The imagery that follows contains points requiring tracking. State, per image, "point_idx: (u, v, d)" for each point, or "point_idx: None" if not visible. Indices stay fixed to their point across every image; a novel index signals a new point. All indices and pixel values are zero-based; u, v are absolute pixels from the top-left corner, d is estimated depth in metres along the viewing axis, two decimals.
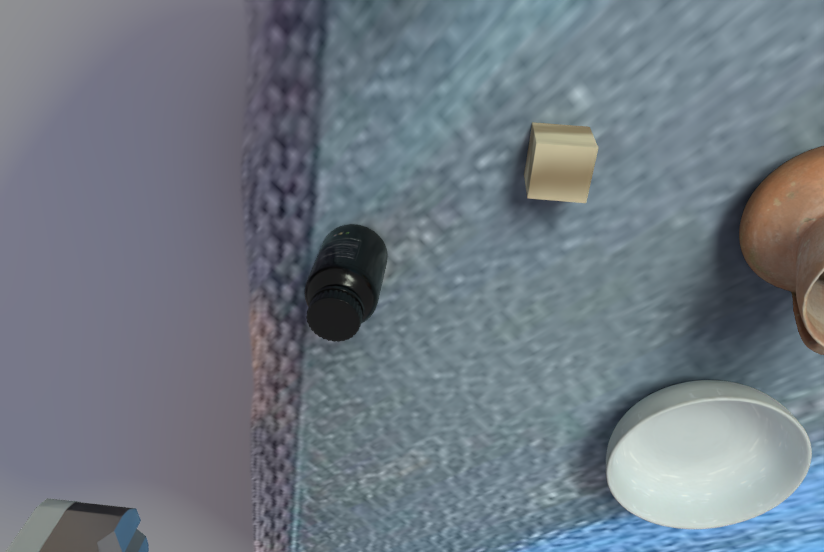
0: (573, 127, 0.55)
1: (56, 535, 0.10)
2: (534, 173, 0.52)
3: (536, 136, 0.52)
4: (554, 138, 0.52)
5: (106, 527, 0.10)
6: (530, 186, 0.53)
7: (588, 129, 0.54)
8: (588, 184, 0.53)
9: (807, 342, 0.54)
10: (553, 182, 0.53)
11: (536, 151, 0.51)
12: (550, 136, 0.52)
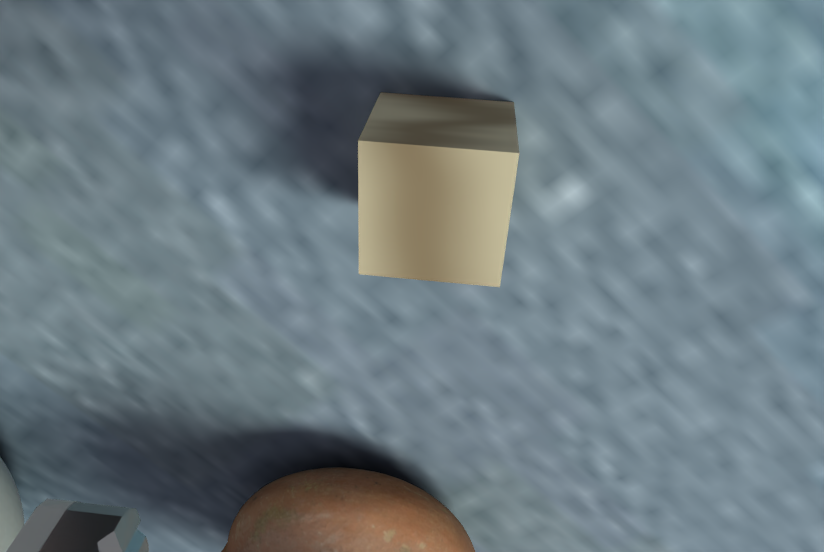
0: None
1: (56, 535, 0.10)
2: (431, 152, 0.19)
3: None
4: None
5: (106, 527, 0.10)
6: (393, 145, 0.19)
7: None
8: (407, 275, 0.22)
9: None
10: (409, 200, 0.20)
11: (495, 154, 0.19)
12: None
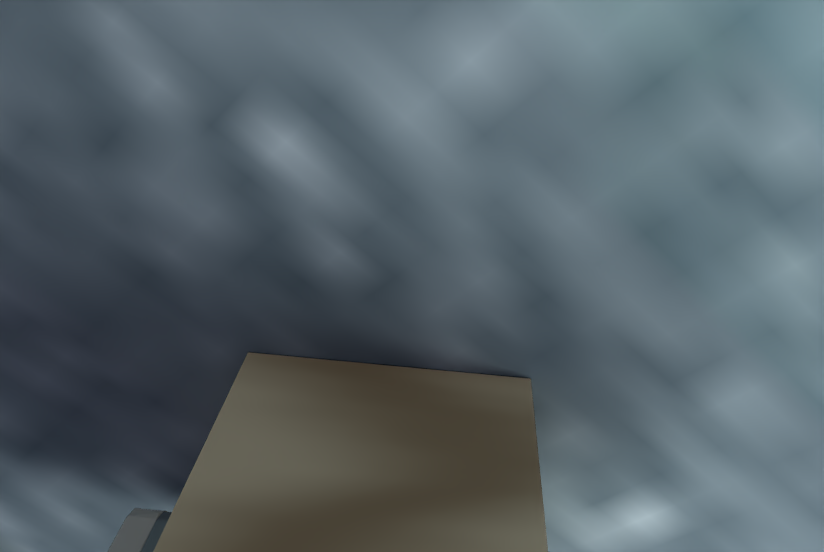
0: None
1: (150, 545, 0.10)
2: None
3: None
4: None
5: None
6: None
7: None
8: None
9: None
10: None
11: None
12: None
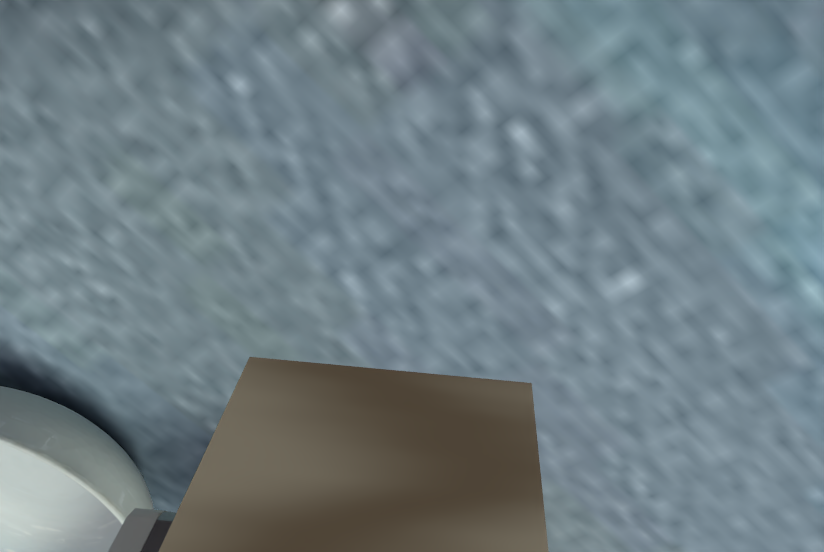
0: None
1: (150, 546, 0.10)
2: None
3: None
4: None
5: None
6: None
7: None
8: None
9: None
10: None
11: None
12: None
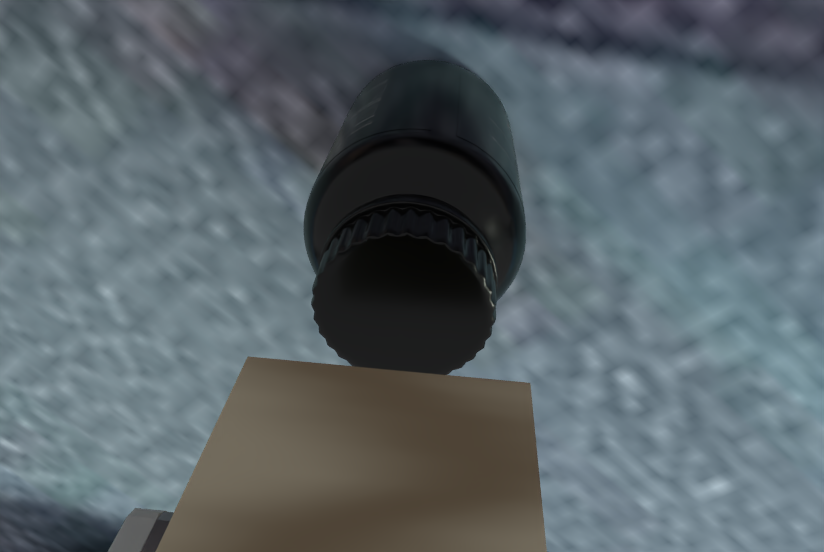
0: None
1: (150, 546, 0.10)
2: None
3: None
4: None
5: None
6: None
7: None
8: None
9: None
10: None
11: None
12: None
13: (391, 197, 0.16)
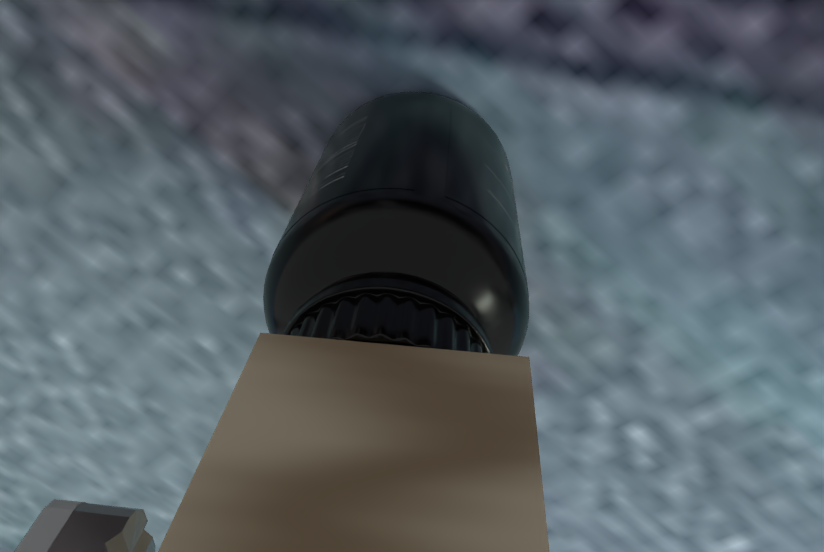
0: None
1: (64, 536, 0.10)
2: None
3: (544, 526, 0.09)
4: None
5: (114, 528, 0.10)
6: None
7: None
8: None
9: None
10: None
11: None
12: None
13: (363, 280, 0.13)
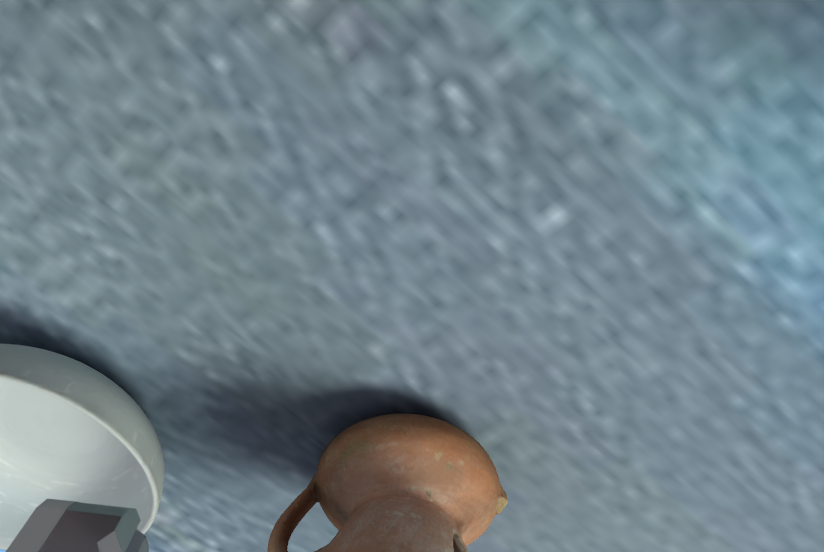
0: None
1: (56, 535, 0.10)
2: None
3: None
4: None
5: (106, 527, 0.10)
6: None
7: None
8: None
9: (277, 541, 0.44)
10: None
11: None
12: None
13: None
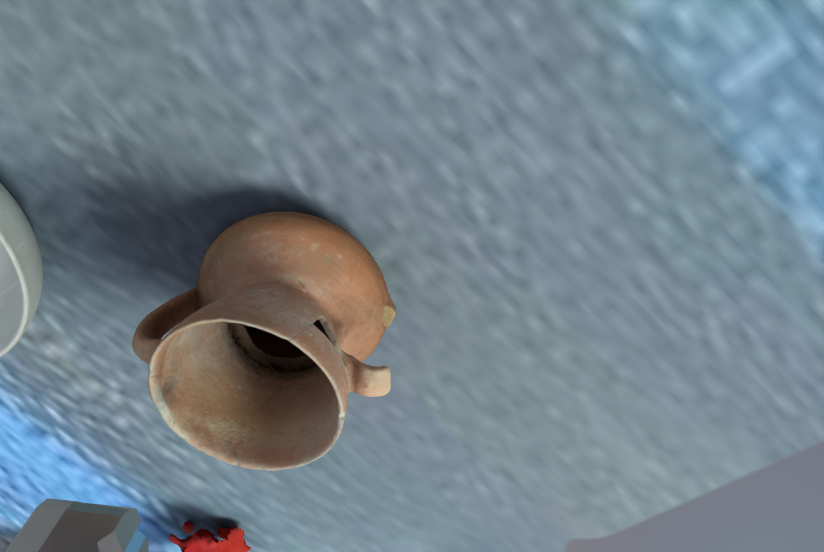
0: None
1: (56, 535, 0.10)
2: None
3: None
4: None
5: (106, 527, 0.10)
6: None
7: None
8: None
9: (142, 327, 0.42)
10: None
11: None
12: None
13: None
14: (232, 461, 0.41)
